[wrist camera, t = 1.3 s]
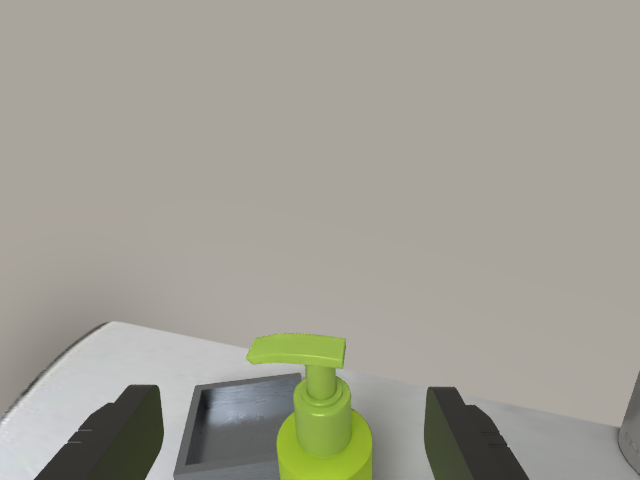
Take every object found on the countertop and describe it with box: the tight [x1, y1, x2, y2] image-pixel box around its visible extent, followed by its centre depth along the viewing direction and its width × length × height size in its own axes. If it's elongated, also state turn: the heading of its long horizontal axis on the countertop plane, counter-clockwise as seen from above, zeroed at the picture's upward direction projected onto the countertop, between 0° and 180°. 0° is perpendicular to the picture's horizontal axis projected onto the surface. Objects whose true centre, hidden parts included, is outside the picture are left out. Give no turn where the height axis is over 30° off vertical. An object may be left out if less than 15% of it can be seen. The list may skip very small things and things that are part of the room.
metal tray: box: [173, 373, 301, 480], centre depth 38 cm, size 12×11×3 cm
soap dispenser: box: [246, 333, 372, 480], centre depth 25 cm, size 6×7×20 cm
